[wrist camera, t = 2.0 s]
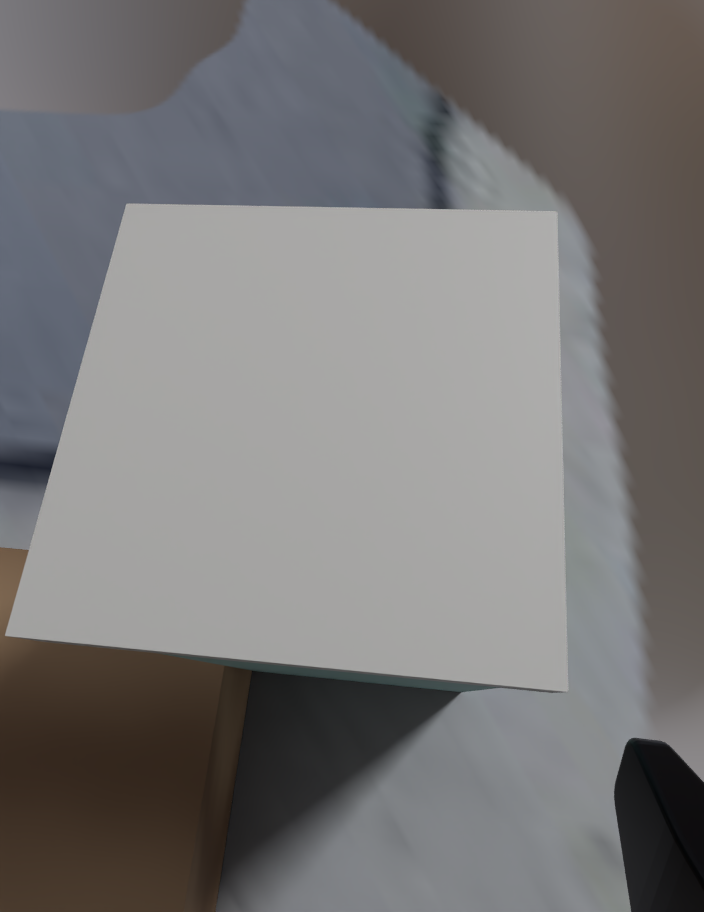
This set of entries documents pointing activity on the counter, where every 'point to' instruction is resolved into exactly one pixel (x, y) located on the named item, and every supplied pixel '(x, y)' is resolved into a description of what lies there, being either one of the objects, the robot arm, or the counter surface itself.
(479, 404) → the tea tin
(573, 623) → the counter surface
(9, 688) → the walnut block
